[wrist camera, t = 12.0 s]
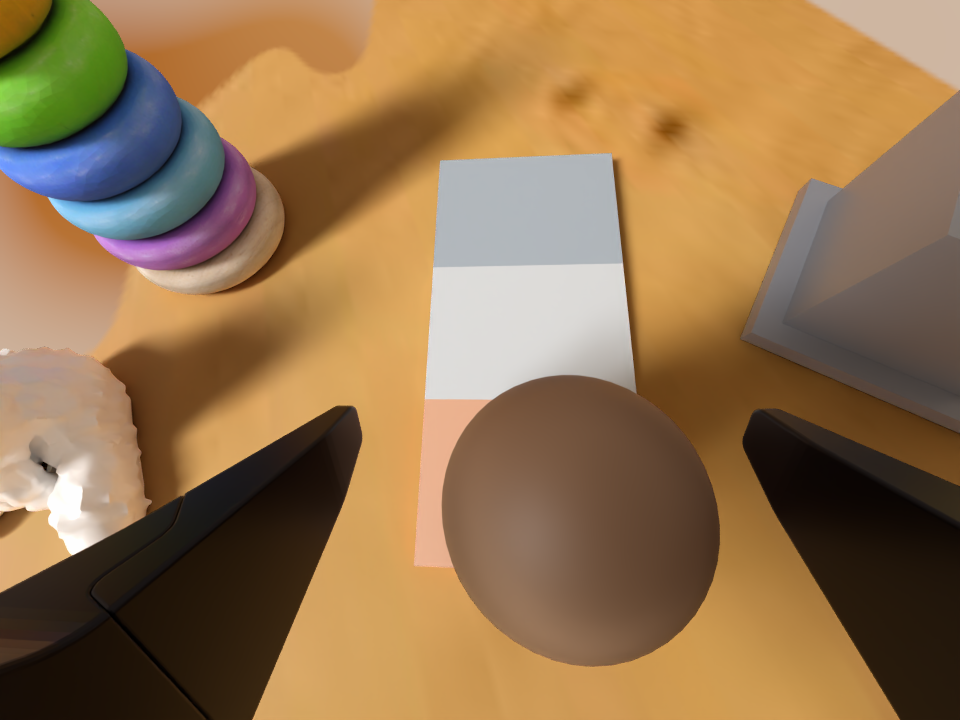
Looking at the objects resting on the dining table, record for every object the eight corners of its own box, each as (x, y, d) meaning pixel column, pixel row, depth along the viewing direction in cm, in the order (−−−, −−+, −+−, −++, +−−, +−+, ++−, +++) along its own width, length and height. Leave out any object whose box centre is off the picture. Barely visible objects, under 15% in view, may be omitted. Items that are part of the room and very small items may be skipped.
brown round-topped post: (546, 574, 14) (725, 1055, 2) (446, 494, 15) (251, 572, 4) (613, 466, 15) (961, 459, 3) (513, 398, 16) (529, 221, 4)
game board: (647, 570, 14) (655, 575, 13) (418, 560, 15) (414, 565, 14) (607, 165, 20) (611, 153, 19) (442, 172, 20) (440, 160, 20)
